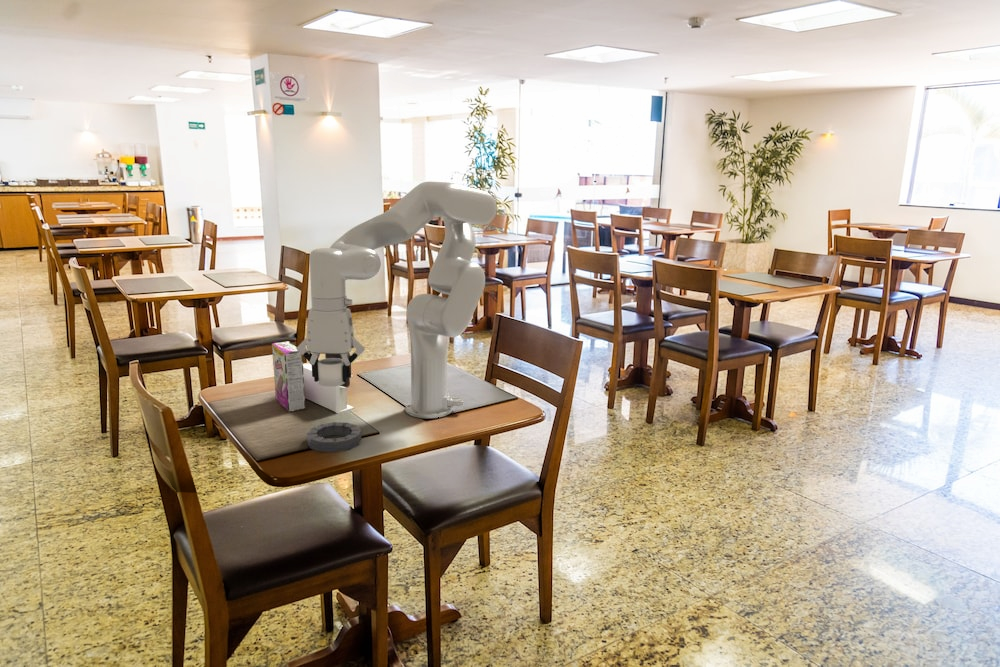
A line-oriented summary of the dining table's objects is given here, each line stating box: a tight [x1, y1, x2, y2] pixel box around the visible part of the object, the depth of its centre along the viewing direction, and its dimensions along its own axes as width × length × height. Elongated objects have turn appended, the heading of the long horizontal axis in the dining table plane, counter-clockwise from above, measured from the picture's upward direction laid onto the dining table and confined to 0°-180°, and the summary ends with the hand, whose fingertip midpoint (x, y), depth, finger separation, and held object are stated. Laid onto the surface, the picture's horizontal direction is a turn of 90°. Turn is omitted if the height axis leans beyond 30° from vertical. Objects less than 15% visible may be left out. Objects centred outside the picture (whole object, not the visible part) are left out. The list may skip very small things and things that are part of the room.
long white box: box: [303, 361, 355, 414], centre depth 183 cm, size 20×6×9 cm, turn 47°
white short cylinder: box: [318, 358, 345, 387], centre depth 154 cm, size 6×6×5 cm
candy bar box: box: [271, 340, 306, 412], centre depth 179 cm, size 11×5×16 cm, turn 35°
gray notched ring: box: [306, 421, 362, 453], centre depth 158 cm, size 12×12×2 cm
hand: (331, 379), depth 154 cm, fingers closed on white short cylinder, 5 cm apart
